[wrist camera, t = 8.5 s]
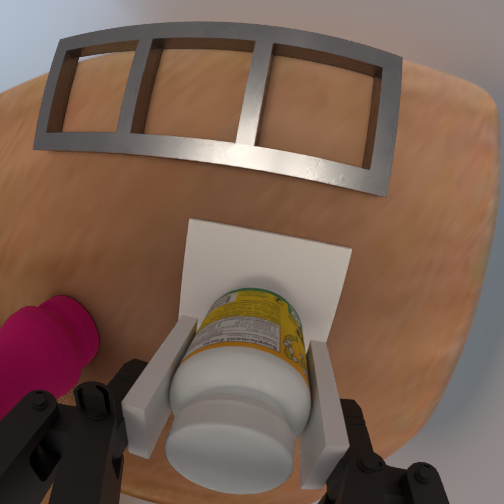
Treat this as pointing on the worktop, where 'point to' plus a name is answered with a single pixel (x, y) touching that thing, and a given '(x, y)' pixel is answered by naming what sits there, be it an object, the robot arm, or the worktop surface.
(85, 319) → the pepper mill
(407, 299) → the worktop surface
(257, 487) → the supplement bottle
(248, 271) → the white mat
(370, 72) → the rack frame
